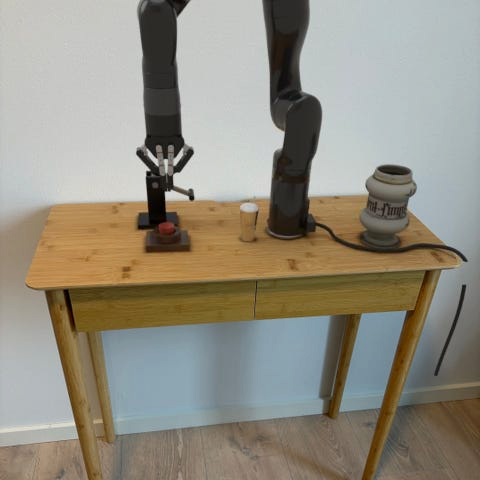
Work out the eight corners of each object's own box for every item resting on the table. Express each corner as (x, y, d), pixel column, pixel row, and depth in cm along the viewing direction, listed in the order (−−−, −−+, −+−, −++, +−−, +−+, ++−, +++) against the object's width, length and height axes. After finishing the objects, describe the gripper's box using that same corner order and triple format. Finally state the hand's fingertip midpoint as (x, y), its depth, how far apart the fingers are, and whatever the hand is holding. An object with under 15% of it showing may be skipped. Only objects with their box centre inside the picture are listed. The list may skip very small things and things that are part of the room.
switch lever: (191, 196, 128) (195, 187, 127) (192, 203, 124) (196, 195, 123) (148, 180, 124) (151, 171, 123) (148, 187, 120) (151, 178, 119)
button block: (187, 236, 122) (187, 223, 120) (189, 251, 116) (188, 237, 114) (146, 237, 121) (145, 223, 119) (146, 252, 115) (144, 238, 113)
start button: (174, 228, 118) (174, 221, 117) (174, 235, 115) (174, 228, 114) (159, 229, 118) (158, 222, 117) (159, 235, 115) (158, 228, 114)
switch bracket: (176, 215, 132) (175, 168, 125) (177, 228, 126) (175, 179, 118) (139, 216, 131) (134, 168, 123) (137, 229, 124) (133, 179, 117)
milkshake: (261, 235, 124) (263, 197, 118) (252, 244, 120) (254, 205, 114) (244, 232, 125) (246, 194, 119) (235, 240, 121) (237, 201, 115)
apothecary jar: (348, 230, 128) (360, 161, 118) (392, 228, 130) (407, 160, 120) (365, 252, 119) (380, 178, 108) (412, 249, 120) (431, 177, 110)
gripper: (128, 114, 98) (137, 197, 108) (195, 113, 99) (197, 196, 109) (130, 105, 104) (138, 185, 114) (193, 105, 105) (196, 183, 115)
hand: (167, 190), depth 111 cm, fingers closed
